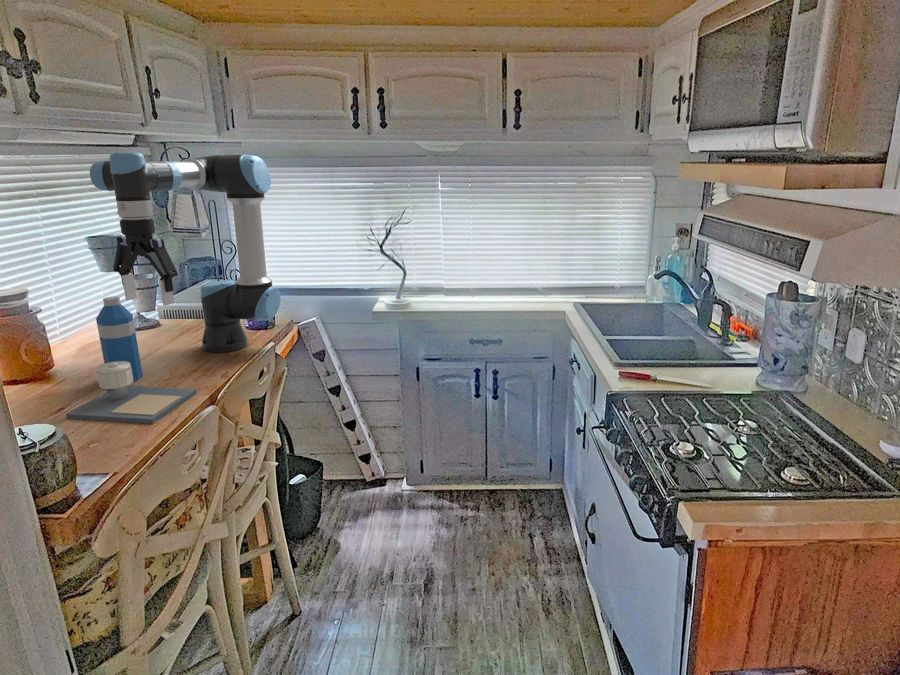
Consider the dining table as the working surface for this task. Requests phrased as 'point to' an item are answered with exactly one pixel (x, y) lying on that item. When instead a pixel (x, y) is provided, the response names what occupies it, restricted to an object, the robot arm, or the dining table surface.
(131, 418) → the board
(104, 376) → the cap
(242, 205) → the robot arm
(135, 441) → the dining table surface
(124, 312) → the water bottle
